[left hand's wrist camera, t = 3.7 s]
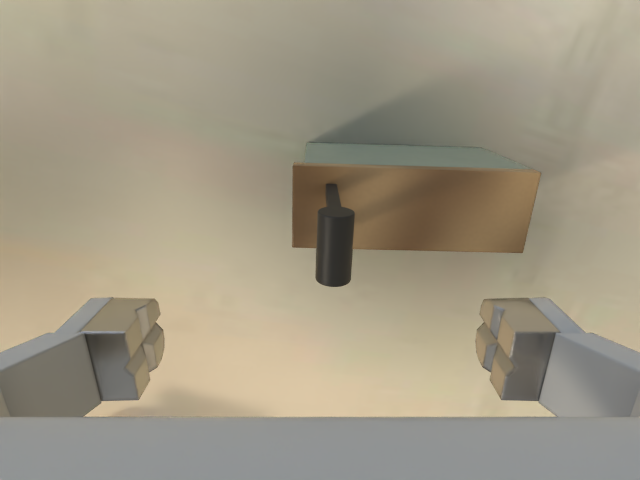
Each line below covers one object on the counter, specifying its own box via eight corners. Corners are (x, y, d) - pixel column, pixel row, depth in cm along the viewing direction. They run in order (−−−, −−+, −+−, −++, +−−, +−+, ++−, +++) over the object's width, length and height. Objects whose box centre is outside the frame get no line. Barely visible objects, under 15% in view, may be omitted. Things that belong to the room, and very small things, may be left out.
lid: (292, 241, 28) (284, 302, 20) (293, 162, 26) (284, 196, 18) (515, 247, 28) (588, 309, 21) (533, 169, 26) (620, 205, 19)
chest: (305, 204, 36) (302, 241, 28) (306, 142, 34) (303, 162, 26) (470, 209, 36) (515, 246, 28) (481, 147, 34) (533, 169, 26)
